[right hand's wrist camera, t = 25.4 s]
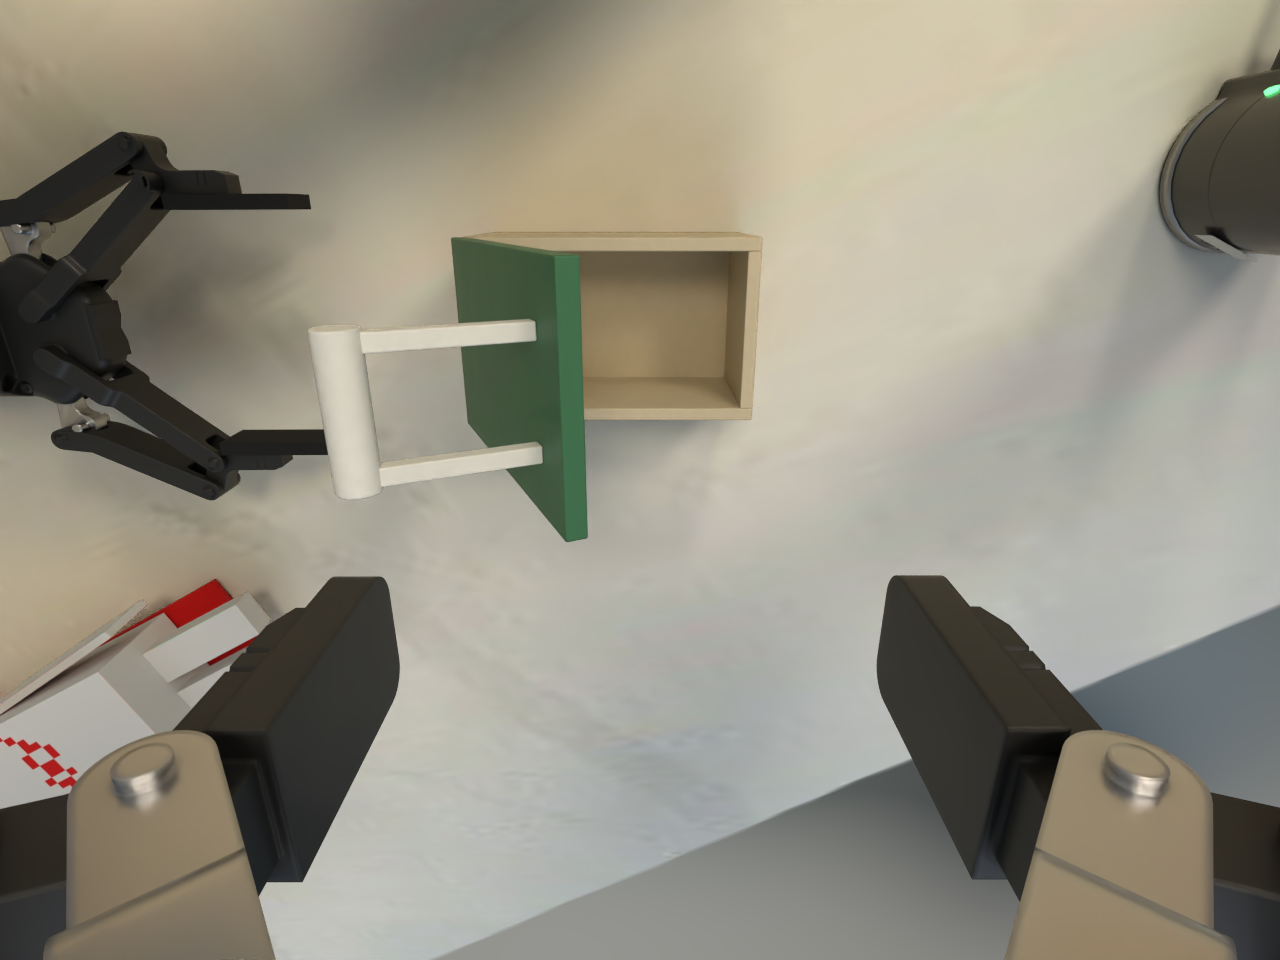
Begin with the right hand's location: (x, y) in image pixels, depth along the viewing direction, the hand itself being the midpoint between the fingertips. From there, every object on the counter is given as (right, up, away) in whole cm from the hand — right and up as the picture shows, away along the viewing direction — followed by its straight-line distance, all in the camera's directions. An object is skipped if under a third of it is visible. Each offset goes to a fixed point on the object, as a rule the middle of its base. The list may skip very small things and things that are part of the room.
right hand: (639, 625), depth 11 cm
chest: (-2, +14, +35) cm, 38 cm away
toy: (-40, -13, +46) cm, 62 cm away
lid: (-5, +8, +20) cm, 22 cm away
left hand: (-18, +11, +29) cm, 36 cm away
